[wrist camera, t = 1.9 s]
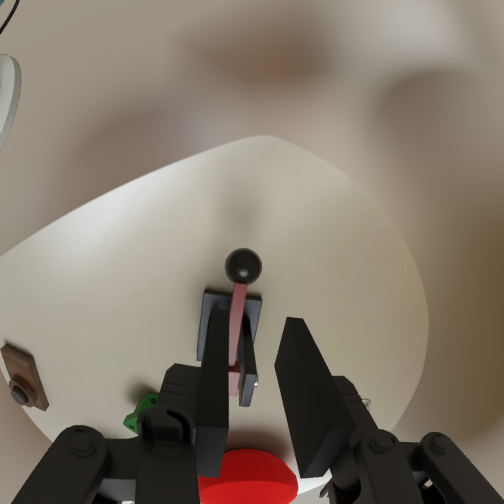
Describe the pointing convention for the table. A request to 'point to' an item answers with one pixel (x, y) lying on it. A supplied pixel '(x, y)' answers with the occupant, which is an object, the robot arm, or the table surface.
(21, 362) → the button block
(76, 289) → the table surface
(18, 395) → the button
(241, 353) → the black bracket
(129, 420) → the clamp
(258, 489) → the vase
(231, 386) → the ball knob lever
